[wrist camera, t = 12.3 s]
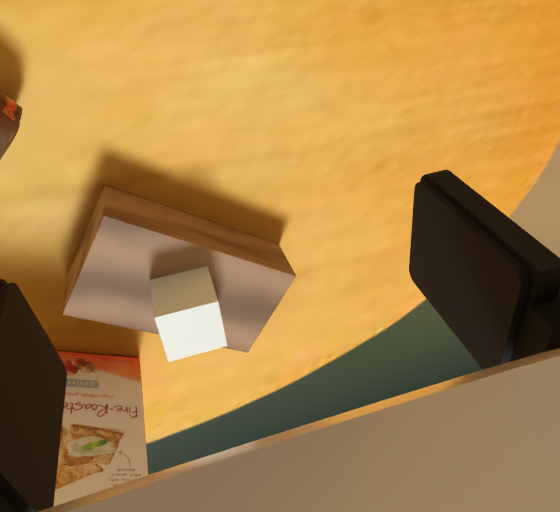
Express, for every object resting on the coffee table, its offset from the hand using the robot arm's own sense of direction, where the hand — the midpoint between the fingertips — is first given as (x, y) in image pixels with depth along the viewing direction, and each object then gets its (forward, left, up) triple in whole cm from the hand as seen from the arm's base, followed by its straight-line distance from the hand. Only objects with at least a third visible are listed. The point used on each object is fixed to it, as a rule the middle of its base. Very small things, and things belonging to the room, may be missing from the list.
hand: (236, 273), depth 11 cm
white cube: (+2, +20, -25) cm, 32 cm away
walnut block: (+2, +20, -31) cm, 37 cm away
